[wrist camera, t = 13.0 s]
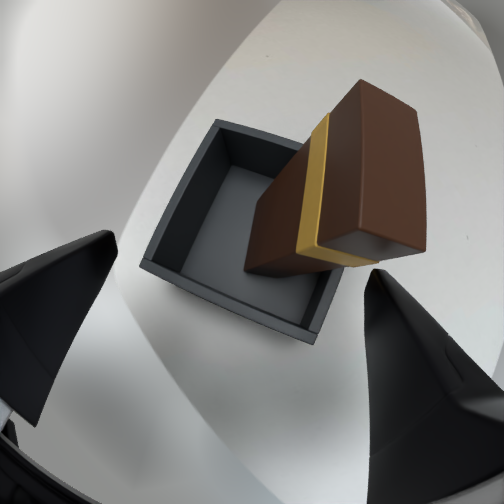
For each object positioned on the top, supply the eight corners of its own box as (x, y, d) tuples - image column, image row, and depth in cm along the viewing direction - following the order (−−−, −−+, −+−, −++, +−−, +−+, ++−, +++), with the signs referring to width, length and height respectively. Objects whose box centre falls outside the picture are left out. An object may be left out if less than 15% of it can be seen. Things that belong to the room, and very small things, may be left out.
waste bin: (303, 335, 19) (313, 345, 13) (172, 278, 20) (138, 266, 15) (352, 204, 20) (374, 171, 15) (229, 159, 22) (215, 118, 16)
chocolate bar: (277, 279, 19) (427, 254, 6) (241, 272, 18) (356, 231, 6) (289, 208, 20) (417, 109, 7) (256, 199, 19) (358, 75, 7)
